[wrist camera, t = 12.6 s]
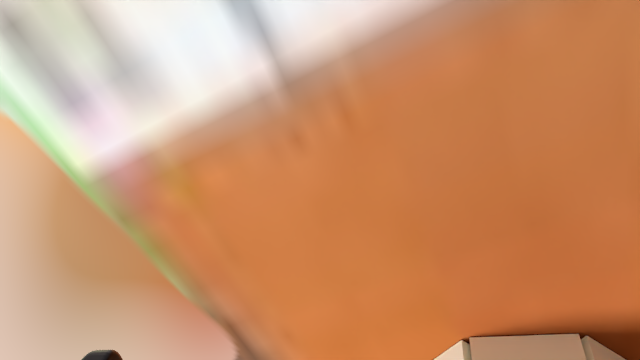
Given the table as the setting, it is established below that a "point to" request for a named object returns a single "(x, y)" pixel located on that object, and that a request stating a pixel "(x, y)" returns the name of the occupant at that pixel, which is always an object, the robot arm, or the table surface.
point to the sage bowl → (530, 348)
